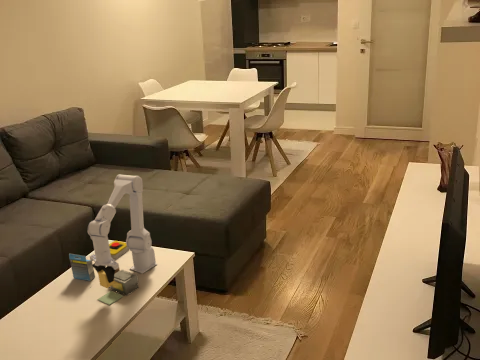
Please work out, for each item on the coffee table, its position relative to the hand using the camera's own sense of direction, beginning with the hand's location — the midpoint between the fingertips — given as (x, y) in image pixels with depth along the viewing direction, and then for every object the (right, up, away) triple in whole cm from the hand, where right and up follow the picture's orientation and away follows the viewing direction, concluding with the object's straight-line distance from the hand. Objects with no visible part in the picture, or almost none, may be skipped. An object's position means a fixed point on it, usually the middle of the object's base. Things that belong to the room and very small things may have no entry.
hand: (107, 280), depth 205 cm
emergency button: (-6, +5, +39) cm, 40 cm away
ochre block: (0, -2, +1) cm, 2 cm away
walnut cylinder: (0, -3, +15) cm, 16 cm away
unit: (+5, -5, +9) cm, 12 cm away
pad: (+1, -8, +3) cm, 8 cm away
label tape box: (-15, -3, +19) cm, 24 cm away
